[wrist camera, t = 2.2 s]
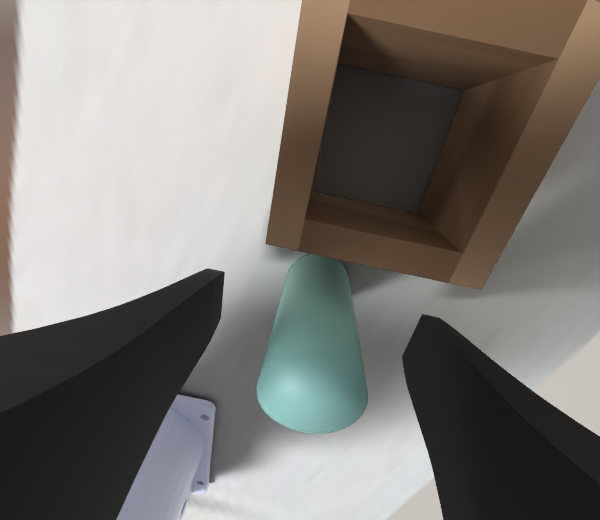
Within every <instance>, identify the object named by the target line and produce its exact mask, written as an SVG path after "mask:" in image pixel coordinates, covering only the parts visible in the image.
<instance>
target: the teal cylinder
mask: <svg viewBox="0 0 600 520" xmlns="http://www.w3.org/2000/svg"><path fill="white" fill-rule="evenodd" d="M256 393H257V398H258V401H259V404H260V406H261V407H262V409H263V410H264V411H265V413H266V414H267V415H268V416H269V417H270V418H272V419H273V420H274V421H276V422H277V423H279V424H281V425H282V426H285V427H287V428H289V429H292V430H295V431H299V432H305V433H329V432H334V431H337V430H340V429H343V428H345V427H347V426H349V425H351V424H352V423H354V422H355V421H356V420H357V419H358V418H359V417H360V416H361V415H362V414H363V412H364V410H365V408H366V405H367V400H368V394H367V387H366V381H365V375H364V369H363V363H362V357H361V351H360V345H359V339H358V332H357V326H356V320H355V314H354V308H353V302H352V296H351V290H350V284H349V278H348V274H347V271H346V269H345V267H344V266H343V265H342V264H341V263H340V262H339V261H338V260H337V259H334V258H329V257H324V256H320V255H315V254H309V255H306V256H303V257H301V258H299V259H298V260H297V261H295V262H294V263H293V265H292V266H291V267H290V269H289V271H288V274H287V278H286V281H285V285H284V289H283V292H282V296H281V300H280V303H279V307H278V310H277V314H276V318H275V321H274V325H273V328H272V332H271V336H270V339H269V343H268V347H267V350H266V354H265V357H264V361H263V365H262V368H261V372H260V376H259V379H258V383H257V388H256Z"/></svg>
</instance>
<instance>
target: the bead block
mask: <svg viewBox="0 0 600 520" xmlns="http://www.w3.org/2000/svg"><path fill="white" fill-rule="evenodd" d="M338 64H343V65H348V66H352V67H357V68H361V69H366V70H371V71H375V72H380V73H385V74H389V75H394V76H399V77H403V78H408V79H413V80H417V81H422V82H426V83H431V84H436V85H440V86H445V87H450V88H454V89H459V90H464V91H463V94H462V97H461V99H460V102H459V104H458V107H457V110H456V112H455V115H454V117H453V120H452V123H451V125H450V128H449V130H448V133H447V136H446V138H445V141H444V143H443V146H442V149H441V151H440V154H439V156H438V159H437V162H436V164H435V167H434V169H433V172H432V175H431V177H430V180H429V182H428V185H427V188H426V190H425V193H424V195H423V198H422V201H421V203H420V206H419V208H418V211H417V214H416V213H411V212H406V211H401V210H397V209H392V208H387V207H383V206H378V205H373V204H369V203H364V202H359V201H355V200H350V199H345V198H341V197H336V196H331V195H327V194H322V193H317V192H313V191H312V187H313V182H314V177H315V172H316V168H317V163H318V158H319V153H320V149H321V144H322V139H323V134H324V130H325V125H326V120H327V115H328V110H329V106H330V101H331V96H332V91H333V87H334V82H335V77H336V72H337V67H338ZM599 77H600V1H595V0H302V5H301V12H300V19H299V25H298V32H297V38H296V45H295V52H294V58H293V65H292V72H291V78H290V85H289V92H288V98H287V105H286V111H285V118H284V125H283V131H282V138H281V145H280V151H279V158H278V165H277V171H276V178H275V184H274V191H273V198H272V204H271V211H270V218H269V224H268V231H267V238H266V244H268V245H273V246H277V247H282V248H287V249H291V250H296V251H301V252H305V253H310V254H315V255H320V256H324V257H329V258H334V259H338V260H343V261H348V262H352V263H357V264H362V265H367V266H371V267H376V268H381V269H385V270H390V271H395V272H399V273H404V274H409V275H414V276H418V277H423V278H428V279H432V280H437V281H442V282H446V283H451V284H456V285H460V286H465V287H470V288H475V289H479V290H481V289H482V288H483V286H484V284H485V282H486V280H487V279H488V277H489V275H490V273H491V271H492V270H493V268H494V266H495V264H496V262H497V261H498V259H499V257H500V255H501V253H502V252H503V250H504V248H505V246H506V244H507V243H508V241H509V239H510V237H511V235H512V234H513V232H514V230H515V228H516V226H517V225H518V223H519V221H520V219H521V217H522V216H523V214H524V212H525V210H526V208H527V207H528V205H529V203H530V201H531V199H532V198H533V196H534V194H535V192H536V190H537V189H538V187H539V185H540V183H541V181H542V180H543V178H544V176H545V174H546V172H547V171H548V169H549V167H550V165H551V163H552V162H553V160H554V158H555V156H556V154H557V153H558V151H559V149H560V147H561V145H562V144H563V142H564V140H565V138H566V136H567V135H568V133H569V131H570V129H571V127H572V126H573V124H574V122H575V120H576V118H577V117H578V115H579V113H580V111H581V109H582V108H583V106H584V104H585V102H586V100H587V99H588V97H589V95H590V93H591V91H592V90H593V88H594V86H595V84H596V82H597V81H598V79H599Z"/></svg>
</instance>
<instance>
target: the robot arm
mask: <svg viewBox="0 0 600 520" xmlns="http://www.w3.org/2000/svg"><path fill="white" fill-rule="evenodd" d="M224 273H225V272H222V271H217V270H213V269H205V270H203V271H200V272H198V273H196V274H193V275H191V276H189V277H187V278H185V279H183V280H180V281H178V282H176V283H174V284H171V285H169V286H167V287H165V288H163V289H160V290H158V291H155V292H153V293H150V294H148V295H145V296H143V297H140V298H138V299H135V300H133V301H130V302H127V303H125V304H122V305H119V306H116V307H113V308H110V309H107V310H104V311H100V312H97V313H94V314H91V315H87V316H84V317H80V318H76V319H72V320H68V321H64V322H60V323H56V324H52V325H48V326H44V327H41V328H36V329H32V330H27V331H23V332H18V333H13V334H8V335H4V336H0V520H181V519H182V517H183V514H184V511H185V509H186V506H187V503H188V501H189V498H190V495H191V493H196V494H205V493H206V492H207V489H208V486H209V475H210V464H211V453H212V442H213V432H214V421H215V410H216V407H215V405H214V404H213V403H212V402H211V401H208V400H203V399H198V398H193V397H189V396H184V395H179V394H178V393H179V391H180V390H181V388H182V387H183V385H184V383H185V382H186V380H187V379H188V377H189V375H190V374H191V372H192V370H193V369H194V367H195V366H196V364H197V362H198V361H199V359H200V357H201V356H202V354H203V353H204V351H205V349H206V348H207V346H208V344H209V343H210V341H211V339H212V336H213V334H214V332H215V330H216V328H217V325H218V323H219V321H220V318H221V308H222V296H223V285H224ZM402 359H403V366H404V372H405V378H406V383H407V387H408V390H409V393H410V397H411V400H412V403H413V406H414V409H415V413H416V416H417V419H418V422H419V425H420V428H421V431H422V434H423V438H424V441H425V444H426V447H427V450H428V454H429V457H430V461H431V464H432V468H433V472H434V477H435V481H436V486H437V491H438V495H439V499H440V504H441V509H442V514H443V520H600V436H598V435H596V434H595V433H593V432H592V431H590V430H589V429H587V428H586V427H584V426H582V425H581V424H579V423H578V422H576V421H575V420H573V419H572V418H570V417H569V416H567V415H566V414H565V413H563V412H562V411H560V410H559V409H557V408H556V407H554V406H553V405H551V404H550V403H548V402H547V401H546V400H544V399H543V398H541V397H540V396H539V395H537V394H536V393H534V392H533V391H532V390H530V389H529V388H528V387H526V386H525V385H524V384H523V383H521V382H520V381H519V380H517V379H516V378H515V377H513V376H512V375H511V374H509V373H508V372H507V371H506V370H504V369H503V368H502V367H501V366H499V365H498V364H497V363H495V362H494V361H493V360H492V359H491V358H489V357H488V356H487V355H486V354H484V353H483V352H482V351H481V350H480V349H478V348H477V347H476V346H475V345H473V344H472V343H471V342H470V341H469V340H467V339H466V338H465V337H464V336H463V335H461V334H460V333H459V332H458V331H456V330H455V329H454V328H453V327H451V326H450V325H449V324H447V323H446V322H444V321H443V320H441V319H440V318H437V317H432V316H428V315H423V314H422V316H421V318H420V320H419V322H418V324H417V326H416V329H415V331H414V333H413V335H412V337H411V339H410V341H409V343H408V345H407V348H406V350H405V352H404V354H403V356H402Z"/></svg>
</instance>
